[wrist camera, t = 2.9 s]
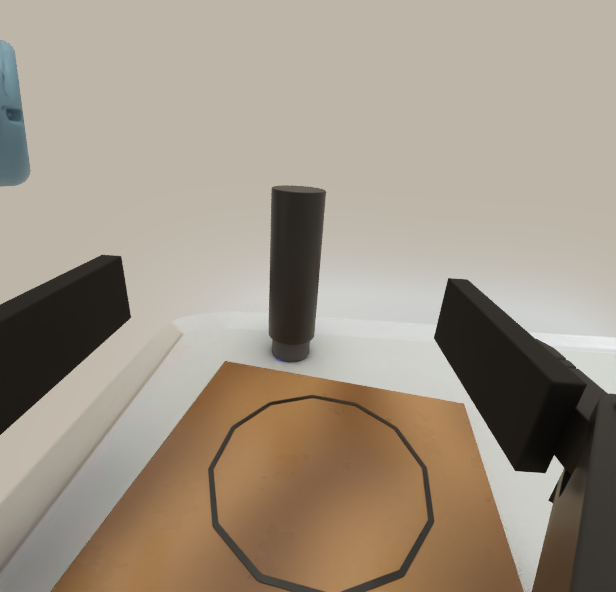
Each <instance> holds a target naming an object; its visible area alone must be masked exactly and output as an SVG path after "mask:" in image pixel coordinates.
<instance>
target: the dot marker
mask: <svg viewBox="0 0 616 592" xmlns="http://www.w3.org/2000/svg"><path fill="white" fill-rule="evenodd" d="M325 196H326V191H325V190H323V189H319V188H313V187H303V186H275V187H272V199H271V200H272V202H271V248H270V294H269V295H270V296H269V297H270V298H269V336H270V337H271V338H272V339H273V342H272V352H273V354H274V356H275V357H276V358H278V359H280V360H283V361H288V362H294V361H300V360H302V359H304V358H306V357H307V356H308V354H309V343H310V340H312V338H313V337H314V331H315V319H316V305H317V293H318V282H319V269H320V258H321V245H322V233H323V221H324V207H325Z"/></svg>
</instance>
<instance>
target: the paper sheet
mask: <svg viewBox="0 0 616 592" xmlns="http://www.w3.org/2000/svg"><path fill="white" fill-rule="evenodd" d="M51 592H523V589H522V585H521V582H520V579H519V576H518V573H517V570H516V566H515V563H514V560H513V557H512V554H511V551H510V548H509V544H508V541H507V538H506V535H505V532H504V529H503V526H502V522H501V519H500V516H499V513H498V510H497V507H496V504H495V500H494V497H493V494H492V491H491V488H490V485H489V482H488V478H487V475H486V472H485V469H484V466H483V463H482V460H481V456H480V453H479V450H478V447H477V444H476V441H475V438H474V434H473V431H472V428H471V425H470V422H469V419H468V416H467V412H466V409H465V406H464V404H462V403H456V402H451V401H445V400H440V399H434V398H428V397H423V396H417V395H412V394H406V393H400V392H395V391H389V390H384V389H378V388H372V387H367V386H361V385H356V384H350V383H345V382H339V381H333V380H328V379H322V378H317V377H311V376H305V375H300V374H294V373H289V372H283V371H277V370H272V369H266V368H261V367H255V366H249V365H244V364H238V363H233V362H227V361H225V362H224V363H223V365H222V366H221V367H220V369H219V370H218V371H217V373H216V374H215V375H214V377H213V378H212V379H211V381H210V382H209V383H208V385H207V386H206V387H205V388H204V390H203V391H202V392H201V394H200V395H199V396H198V398H197V399H196V400H195V402H194V403H193V404H192V406H191V407H190V408H189V410H188V411H187V412H186V414H185V415H184V416H183V417H182V419H181V420H180V421H179V423H178V424H177V425H176V427H175V428H174V429H173V431H172V432H171V433H170V435H169V436H168V437H167V439H166V440H165V441H164V443H163V444H162V445H161V446H160V448H159V449H158V450H157V452H156V453H155V454H154V456H153V457H152V458H151V460H150V461H149V462H148V464H147V465H146V466H145V468H144V469H143V470H142V472H141V473H140V474H139V475H138V477H137V478H136V479H135V481H134V482H133V483H132V485H131V486H130V487H129V489H128V490H127V491H126V493H125V494H124V495H123V497H122V498H121V499H120V501H119V502H118V503H117V504H116V506H115V507H114V508H113V510H112V511H111V512H110V514H109V515H108V516H107V518H106V519H105V520H104V522H103V523H102V524H101V526H100V527H99V528H98V530H97V531H96V532H95V533H94V535H93V536H92V537H91V539H90V540H89V541H88V543H87V544H86V545H85V547H84V548H83V549H82V551H81V552H80V553H79V555H78V556H77V557H76V559H75V560H74V561H73V562H72V564H71V565H70V566H69V568H68V569H67V570H66V572H65V573H64V574H63V576H62V577H61V578H60V580H59V581H58V582H57V584H56V585H55V586H54V588H53V589H52V590H51Z"/></svg>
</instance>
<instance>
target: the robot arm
mask: <svg viewBox="0 0 616 592" xmlns="http://www.w3.org/2000/svg"><path fill="white" fill-rule="evenodd" d="M29 174H30V164H29V156H28V149H27V141H26V134H25V126H24V118H23V111H22V103H21V96H20V88H19V80H18V74H17V65H16V57H15V51H14V49H13V47H12V46H11V45H10V44H9V43H7V42H5V41H3V40H0V186H15V185H19V184H21V183H23V182H24V181H26V180H27V178H28V177H29ZM130 318H131V315H130V309H129V302H128V296H127V290H126V284H125V277H124V271H123V265H122V259H121V256H109V255H101V256H99V257H97V258H95V259H93V260H91V261H89V262H87V263H85V264H83V265H80V266H78V267H76V268H74V269H72V270H70V271H68V272H66V273H64V274H62V275H60V276H58V277H56V278H54V279H52V280H50V281H48V282H46V283H44V284H42V285H40V286H37V287H35V288H34V289H31V290H29V291H27V292H25V293H23V294H21V295H19V296H17V297H15V298H13V299H11V300H9V301H7V302H5V303H3V304H1V305H0V435H1V434H2V433H3V432H4V431H5V430H6V429H7V428H9V427H10V426H11V425H12V424H13V423H14V422H15V421H16V420H17V419H19V418H20V417H21V416H22V415H23V414H24V413H25V412H26V411H27V410H28V409H30V408H31V407H32V406H33V405H34V404H35V403H36V402H37V401H39V400H40V399H41V398H42V397H43V396H44V395H45V394H46V393H48V392H49V391H50V390H51V389H52V388H53V387H54V386H55V385H56V384H58V383H59V382H60V381H61V380H62V379H63V378H64V377H65V376H66V375H68V374H69V373H70V372H71V371H72V370H73V369H74V368H75V367H76V366H77V365H79V364H80V363H81V362H82V361H83V360H84V359H85V358H87V357H88V356H89V355H90V354H91V353H92V352H93V351H94V350H95V349H96V348H98V347H99V346H100V345H101V344H102V343H103V342H104V341H105V340H106V339H108V338H109V337H110V336H111V335H112V334H113V333H114V332H115V331H117V330H118V329H119V328H120V327H121V326H122V325H123V324H124V323H126V321H128V320H129V319H130ZM434 339H435V341H436V342H437V344H438V345H439V347H440V349H441V350H442V352H443V354H444V355H445V357H446V359H447V360H448V362H449V363H450V365H451V367H452V368H453V370H454V372H455V373H456V375H457V377H458V378H459V380H460V381H461V383H462V385H463V386H464V388H465V390H466V391H467V393H468V395H469V396H470V398H471V399H472V401H473V403H474V404H475V406H476V408H477V409H478V411H479V412H480V414H481V416H482V417H483V419H484V421H485V422H486V424H487V426H488V427H489V429H490V430H491V432H492V434H493V435H494V437H495V439H496V440H497V442H498V444H499V445H500V447H501V448H502V450H503V452H504V453H505V455H506V457H507V458H508V460H509V461H510V463H511V465H512V466H513V468H514V470H515V471H523V472H538V473H546V471H547V469H548V467H549V464H550V462H551V460H552V458H553V456H554V455H555V456H556V458H557V459H558V460H559V461H560V463H561V464H562V465H563V467H564V470H563V472H562V474H561V476H560V478H559V480H558V482H557V484H556V486H555V488H554V490H553V492H552V494H551V496H550V498H549V500H548V501H550V502H552V503H553V506H552V511H551V515H550V519H549V523H548V527H547V531H546V536H545V540H544V544H543V548H542V552H541V556H540V560H539V565H538V569H537V573H536V577H535V581H534V585H533V589H532V592H616V394H607V393H606V392H605V391H604V390H603V389H602V388H600V387H599V386H598V385H597V384H596V383H594V382H593V381H592V380H591V379H590V378H589V377H587V376H586V375H585V374H584V373H583V372H581V371H580V370H579V369H576V367H575V366H574V365H573V364H572V363H571V362H570V361H568V360H566V358H565V357H564V356H562V355H561V354H560V353H559V352H558V351H557V350H555V349H554V348H553V347H551V346H549V345H547V344H545V343H543V342H541V341H540V340H538V339H535V338H534V337H532V336H531V335H530V334H529V333H528V332H527V331H525V330H524V329H523V328H522V327H521V326H520V325H519V324H518V323H516V322H515V321H514V320H513V319H512V318H511V317H509V316H508V315H507V314H506V313H505V312H504V311H503V310H502V309H500V308H499V307H498V306H497V305H496V304H495V303H493V302H492V301H491V300H490V299H489V298H488V297H487V296H485V295H484V294H483V293H482V292H481V291H480V290H479V289H478V288H476V287H475V286H474V285H473V284H472V283H471V282H470V281H468V280H464V279H451V278H449V279H448V282H447V286H446V290H445V294H444V298H443V303H442V307H441V311H440V315H439V319H438V324H437V328H436V332H435V336H434Z"/></svg>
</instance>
